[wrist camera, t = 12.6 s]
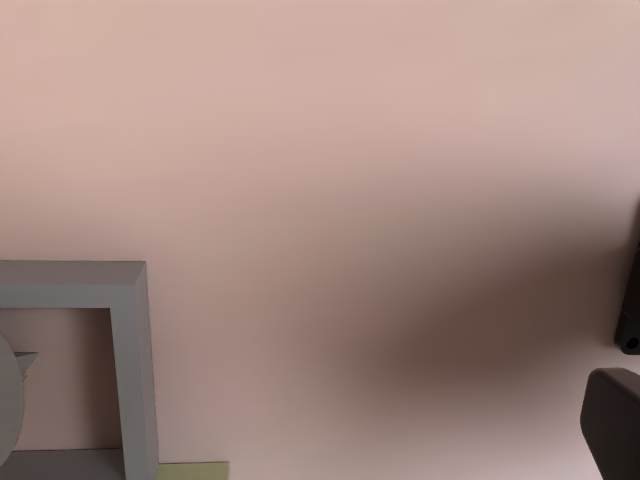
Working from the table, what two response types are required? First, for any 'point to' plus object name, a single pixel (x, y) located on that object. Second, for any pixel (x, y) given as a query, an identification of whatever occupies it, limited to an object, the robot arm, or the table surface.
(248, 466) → the table surface
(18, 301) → the green box with handle
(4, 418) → the yellow cone shape
